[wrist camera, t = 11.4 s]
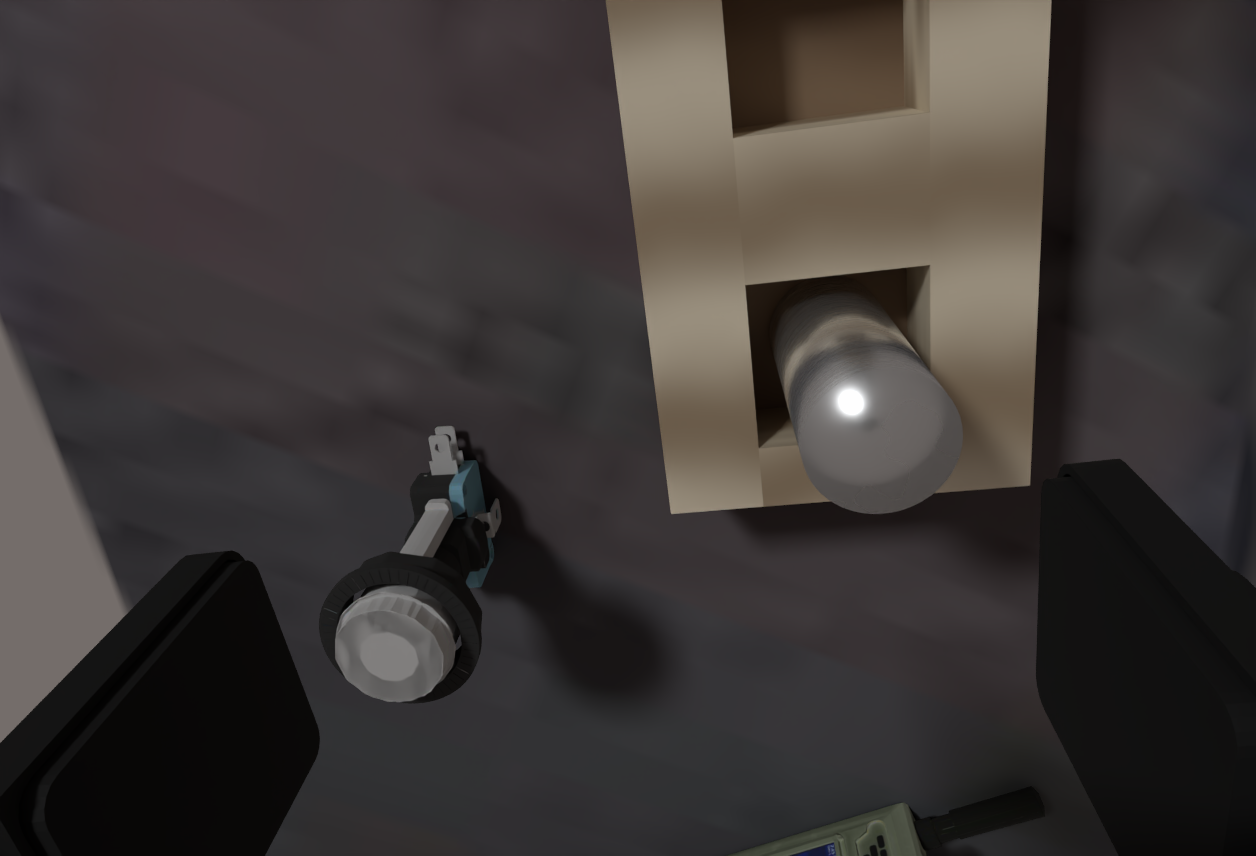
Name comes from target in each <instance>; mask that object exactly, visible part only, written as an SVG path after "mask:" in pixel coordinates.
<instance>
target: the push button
mask: <svg viewBox="0 0 1256 856" xmlns="http://www.w3.org/2000/svg"><path fill="white" fill-rule="evenodd" d="M435 433H436V435H435V436H430V437H429V438H428V439H429V444H430V449H431V455H432V460H433V461H430V462H429V463H430V468H431V470H430V472H429V473H420V474H419V475H418V477H417V478H416V480H415V481H414V483H413V484H412V486H411V488H410V497H411V501H412V506H413V511H414V523H413V525H412V527H411V528H410V530H409V532H408V534H407V536H406V538H405V543H404V547H403V548H402V550H401V552H400V553H397V552H387V553H384V554H382V555H379V556H376V557H373V558H371V559H368V560H366V561H365V562H364V563H363V564H362V565H361V567H360V568H359V569H356V570H354V571H353V572H351V573H349V574H348V575H346V576H345V577H343V578H342V579H341V580H340V581H339V582H338V583H337V584H336V585H335V587H334V588H333V589H332V590H331V592H330V593H329V595H328V596H327V598H326V600H325V602H324V604H323V606H322V610H321V613H320V619H319V630H320V637H321V641H322V644H323V647H324V650H325V652H326V654H327V656H328V657H329V659H330V661H331V662H332V664H333V665H334V666H335V668H336V669H337V670H338V671H339V672H340V673H341V674H342V675H343V676H344V677H345V678H346V679H347V680H348V681H349V682H350V683H352V684H353V685H355V686H356V687H357V688H358V689H360V690H361V691H362V692H363V693H364V694H367V695H370V696H371V697H374V698H379V699H382V700H385V701H388V702H389V701H393V702H399V703H424V702H430V701H434V700H437V699H440V698H443V697H445V696H447V695H449V694H451V693H453V692H454V691H456V690H457V689H458V688H460V687H461V686H462V685H463V684H464V683H465V682H466V681H467V680H468V678H469V677H470V676H471V674H472V672H473V671H474V668H475V666H476V664H477V661H478V658H479V655H480V651H481V643H482V637H481V622H482V611H481V608H480V607H479V605H478V603H477V601H476V600H475V598H474V596H473V594H472V593H471V591H470V589H469V588H473V587H481V586H482V584H483V582H484V579H485V577H486V574H487V572H488V570H489V567H490V565H491V564H492V562H493V559H494V548H493V542H492V541H491V538H492V537H495V533H496V532H497V530H498V528H499V525H500V523H501V511H500V505H499V500H498V499H497V498H495V501H494V503H493V505H492V507H491V509H490V512H489V513H487V512H486V507H485V501H484V495H483V490H482V484H481V478H480V473H479V467H478V463H477V461H476V460H470V461H464V457H463V452H462V450H458V444H457V439H456V434H455V428H454V427H453V426H442V427H436V429H435ZM443 434H448V435H450V437H451V441H450V442H449V437H448V436H447V435H443ZM437 443H438V448H439V451H438V450H436V448H435V445H436V444H437ZM496 510H497V519H496ZM365 588H366V589H365ZM362 589H365V590H364V592H363V594H362V595H361V597H360V598H359V599H358V600H356V601H355V602H353V598H354V594H355V593H357V592H359V591H360V590H362ZM459 635H461V642H462V646H461V647H460V648H459V649H458V650H456V651H455V649H456V646H455V644H456V642H457V640H458V637H459Z"/></svg>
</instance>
